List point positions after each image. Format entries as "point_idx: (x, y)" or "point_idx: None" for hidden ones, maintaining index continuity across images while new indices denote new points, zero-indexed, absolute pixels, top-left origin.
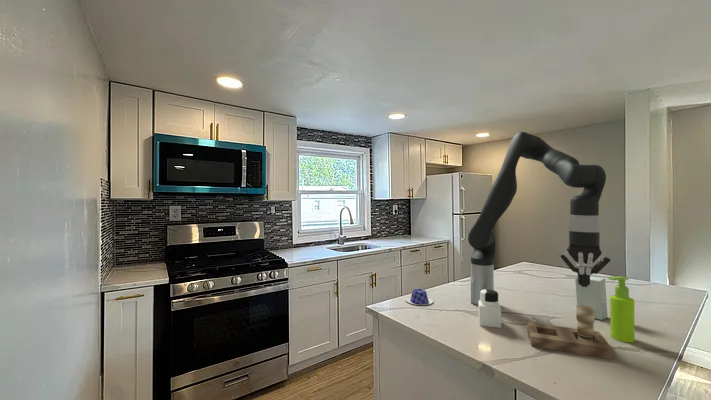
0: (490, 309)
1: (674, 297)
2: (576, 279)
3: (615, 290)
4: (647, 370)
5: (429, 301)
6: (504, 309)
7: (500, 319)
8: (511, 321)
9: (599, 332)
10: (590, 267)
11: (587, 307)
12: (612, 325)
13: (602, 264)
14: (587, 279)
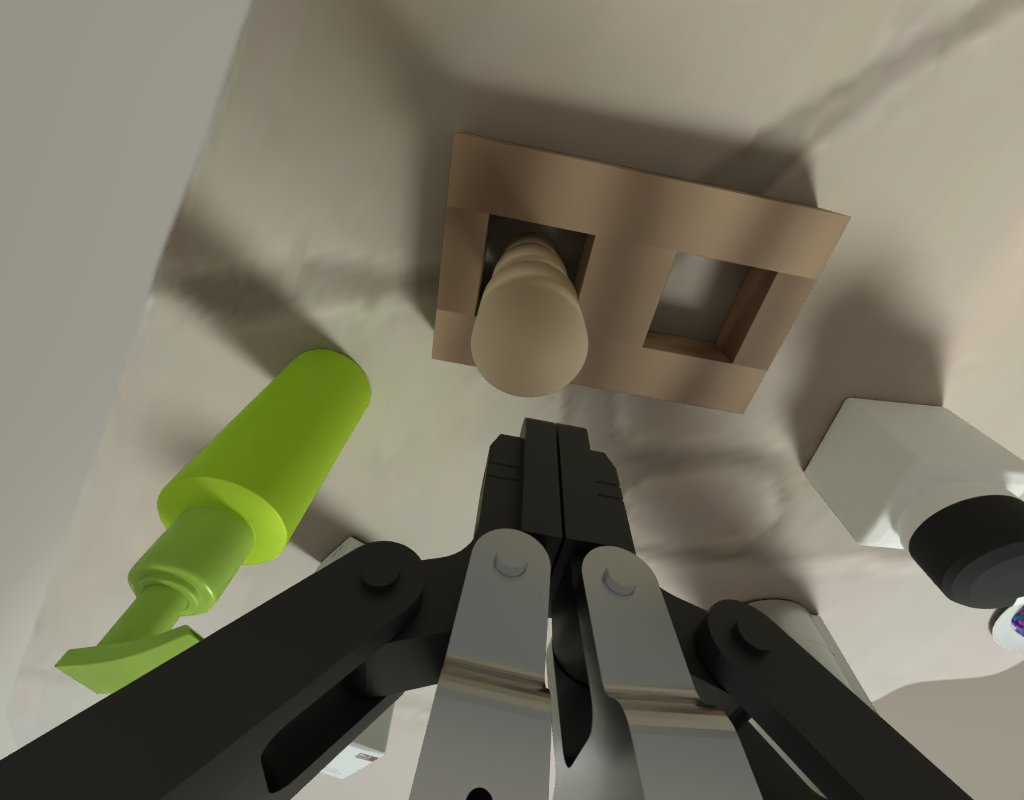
0: (970, 457)
1: (71, 714)
2: (382, 741)
3: (230, 570)
4: (339, 21)
5: (1010, 615)
6: (700, 581)
7: (878, 421)
8: (742, 475)
9: (432, 349)
10: (468, 671)
11: (510, 351)
12: (348, 413)
13: (114, 771)
14: (523, 480)
